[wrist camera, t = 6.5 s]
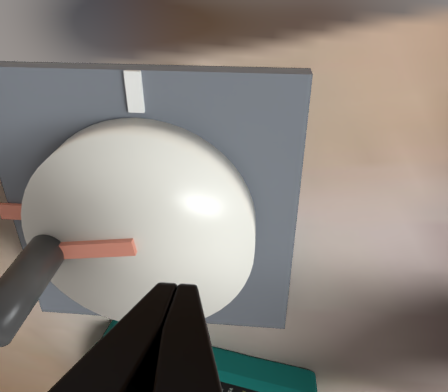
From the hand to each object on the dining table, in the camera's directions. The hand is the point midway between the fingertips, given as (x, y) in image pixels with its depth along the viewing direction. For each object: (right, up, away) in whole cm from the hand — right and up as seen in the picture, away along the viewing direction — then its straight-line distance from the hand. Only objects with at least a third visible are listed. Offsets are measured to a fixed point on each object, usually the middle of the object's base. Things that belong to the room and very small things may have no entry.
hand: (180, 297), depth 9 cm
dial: (-3, +1, +12) cm, 13 cm away
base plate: (-3, +2, +13) cm, 14 cm away
